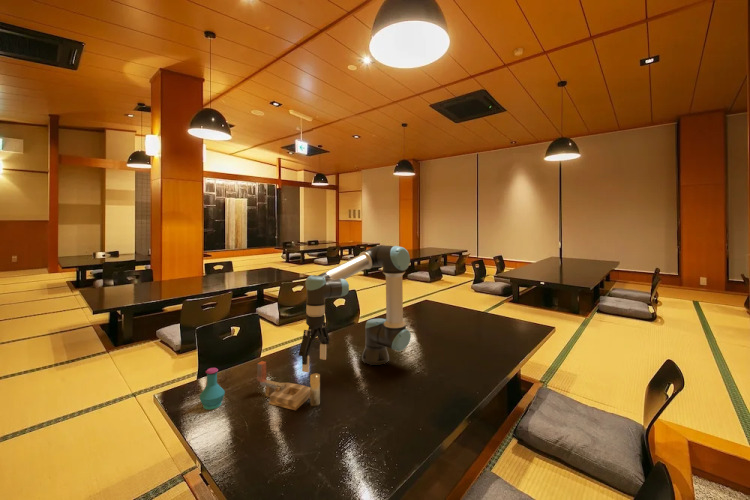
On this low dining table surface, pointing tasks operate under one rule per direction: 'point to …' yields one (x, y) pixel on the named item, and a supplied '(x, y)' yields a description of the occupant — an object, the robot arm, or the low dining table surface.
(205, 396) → the perfume bottle
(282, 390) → the dock
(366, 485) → the low dining table surface
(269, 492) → the low dining table surface
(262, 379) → the pin
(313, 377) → the tan rounded cylinder
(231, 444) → the low dining table surface
